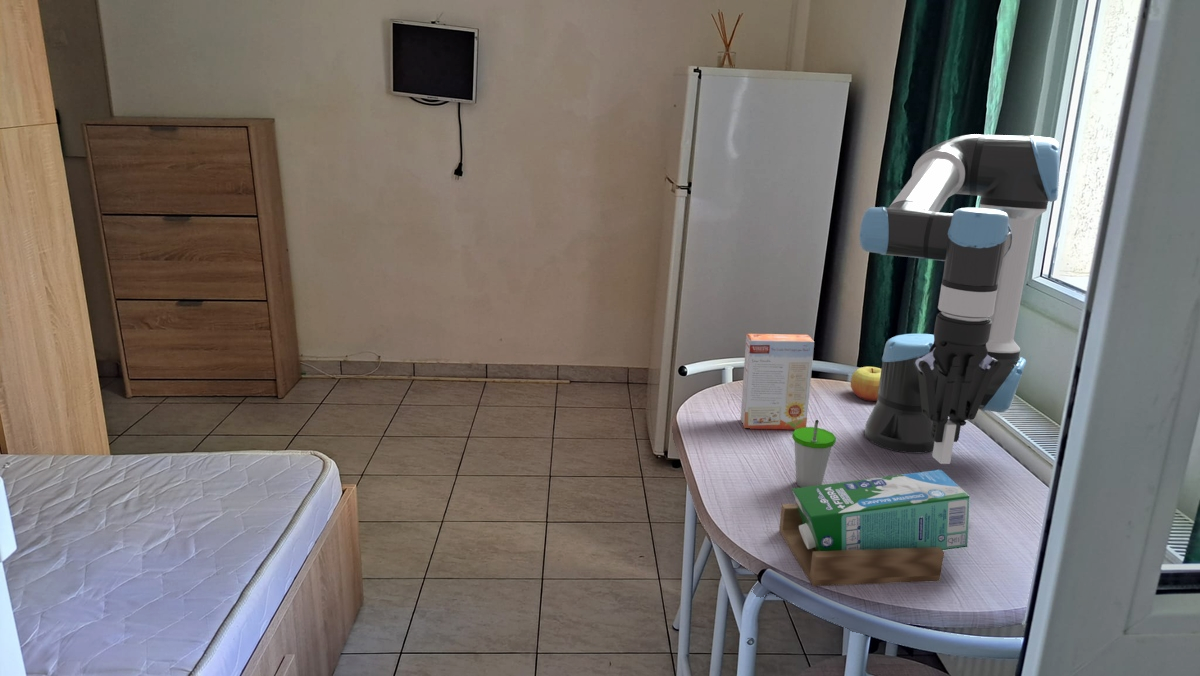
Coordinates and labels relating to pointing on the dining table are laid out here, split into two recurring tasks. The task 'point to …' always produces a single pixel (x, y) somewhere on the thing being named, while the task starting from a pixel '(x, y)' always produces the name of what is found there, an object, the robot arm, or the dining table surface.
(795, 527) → the tray
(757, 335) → the cracker box
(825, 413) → the dining table surface
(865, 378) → the apple
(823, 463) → the cup
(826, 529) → the milk carton
